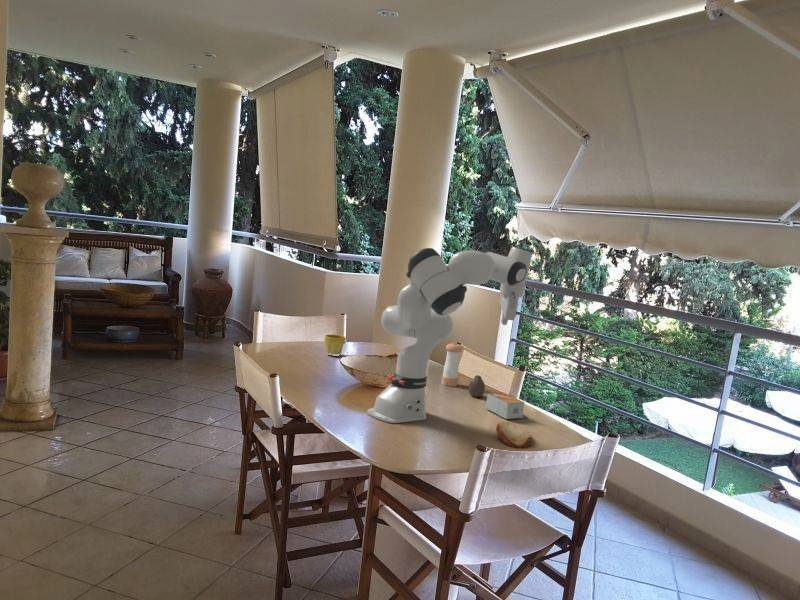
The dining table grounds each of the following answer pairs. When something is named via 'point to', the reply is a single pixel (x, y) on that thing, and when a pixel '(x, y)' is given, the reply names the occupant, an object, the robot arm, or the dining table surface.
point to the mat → (518, 418)
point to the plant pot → (334, 343)
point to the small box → (505, 405)
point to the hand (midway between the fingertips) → (503, 323)
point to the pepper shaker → (451, 365)
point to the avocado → (476, 387)
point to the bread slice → (513, 435)
